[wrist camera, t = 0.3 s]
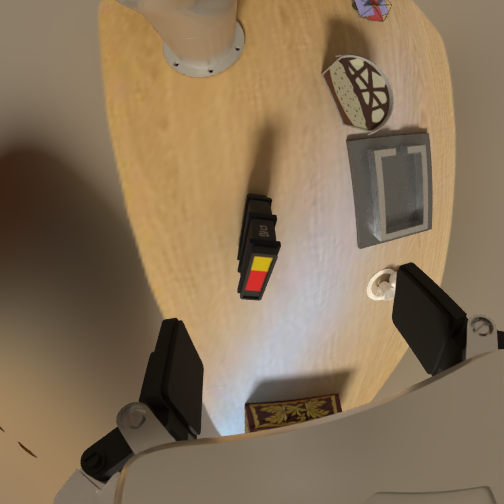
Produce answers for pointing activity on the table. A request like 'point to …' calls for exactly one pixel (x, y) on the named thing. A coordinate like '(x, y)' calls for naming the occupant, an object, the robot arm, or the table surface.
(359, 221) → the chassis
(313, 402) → the decorative box
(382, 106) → the food container
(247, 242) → the black tall block
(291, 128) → the table surface
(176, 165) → the table surface
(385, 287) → the white curved piece
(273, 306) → the table surface
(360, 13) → the geometric puzzle
